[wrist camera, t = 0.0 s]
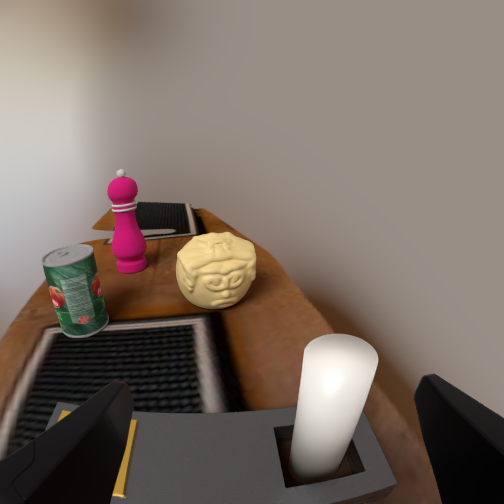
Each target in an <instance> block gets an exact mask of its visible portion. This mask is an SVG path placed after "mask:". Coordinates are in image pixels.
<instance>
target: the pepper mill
mask: <svg viewBox="0 0 504 504" xmlns="http://www.w3.org/2000/svg"><path fill="white" fill-rule="evenodd" d="M125 174H126V173H125V171H124V170H123V169H120V170H118V171H117V177H118V178H116V179H114V180H113V181H112V182H111V183H110V184H109V186H108V191H107V192H108V197H109V199H110V200H111V201H112V202H113V204H112V205H111V206H112V211H113V212H114V214H115V222H116V225H115V232H114V236H113V240H112V253H113V255H114V256H115V257H116V258H118V260H117V268H118V271H119V272H121V273H127V274H128V273H136V272H139V271H142V270H143V269H145V268H146V266H147V263H146V257H145V256H143V254H144V253H145V251H146V248H147V246H146V241H145V238H144V236H143V234H142V233H141V231H140V229H139V227H138V225H137V222H136V218H135V209H136V207H137V206H136V201H134V198H135V197H136V195H137V192H138V189H137V184H136V182H135V181H134V180H133V179H131V178H128V177H125Z"/></svg>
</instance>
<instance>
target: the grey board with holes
mask: <svg viewBox="0 0 504 504" xmlns="http://www.w3.org/2000/svg"><path fill="white" fill-rule="evenodd" d="M79 406H80V405H73V404H67V403H61V402H58V403H57V405H56V408H55V410H54V412H53V414H52V416H51V419H50V421H49V423H48V425H47V428H46V430H47V429H49V428H50V427H51V426H53V425H54V424H56V423H57V422H58V421H60V420H61V419H62V418H64V417H65V416H67V415H68V414H69V413H71V412H72V411H73V410H75V409H76V408H77V407H79ZM296 411H297V407H290V408H281V409H272V410H261V411H248V412H232V413H201V414H180V413H150V412H134V411H133V413H132V419H131V424H130V429H129V435H128V441H127V446H126V450H125V453H124V457H123V460H122V463H121V467H120V470H119V474H118V477H117V481H116V484H115V488H114V491H113V495H112V499H111V502H110V504H364V503H367V502H370V501H373V500H376V499H379V498H382V497H385V496H387V495H388V494H389V493H390V492H391V490H392V489H393V488H394V487H395V486H396V485H397V481H396V479H395V477H394V475H393V473H392V470H391V468H390V466H389V464H388V462H387V460H386V457H385V455H384V453H383V451H382V449H381V447H380V445H379V443H378V440H377V438H376V436H375V434H374V432H373V430H372V428H371V426H370V424H369V422H368V420H367V418H366V415H365V413H364V411H363V410H362V413H361V415H360V418H359V421H358V423H357V426H356V428H355V431H354V433H353V436H352V438H351V441H350V443H349V445H348V448H347V450H346V452H345V453H346V455H347V458H348V461H349V463H350V466H351V469H352V471H353V474H354V475H350V476H346V477H342V478H338V479H334V480H329V481H324V482H319V483H314V484H309V485H303V486H297V487H290V488H285V484H284V479H283V474H282V469H281V464H280V459H279V454H278V449H277V444H276V442H283V441H290V440H292V437H293V431H294V425H295V418H296ZM46 430H45V431H46Z"/></svg>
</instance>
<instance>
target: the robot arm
mask: <svg viewBox="0 0 504 504" xmlns="http://www.w3.org/2000/svg"><path fill="white" fill-rule="evenodd" d="M414 401H415V405H416V409H417V413H418V417H419V422H420V427H421V431H422V436H423V440H424V443H425V446H426V449H427V452H428V455H429V459H430V462H431V465H432V468H433V472H434V475H435V479H436V482H437V486H438V489H439V493H440V497H441V501H442V504H504V418H503V417H501V416H500V415H498V414H497V413H495V412H493V411H492V410H490V409H489V408H487V407H485V406H484V405H483V404H481V403H479V402H478V401H476V400H475V399H473V398H472V397H470V396H469V395H467V394H465V393H464V392H462V391H461V390H459V389H458V388H456V387H454V386H453V385H451V384H450V383H448V382H447V381H445V380H444V379H442V378H440V377H439V376H437V375H436V374H429V375H424V376H423V377H422V378H421V380H420V382H419V385H418V387H417V389H416V391H415V395H414ZM133 408H134V401H133V398H132V395H131V393H130V390H129V387H128V385H127V384H126V383H125V382H120V381H113V382H111V383H110V384H108V385H107V386H106V387H104V388H103V389H102V390H100V391H99V392H98V393H96V394H95V395H94V396H92V397H91V398H90V399H88V400H87V401H86V402H84V403H83V404H82V405H80V406H79V407H77V408H76V409H75V410H73V411H72V412H71V413H69V414H68V415H67V416H65V417H64V418H62V419H61V420H60V421H58V422H57V423H56V424H54V425H53V426H51V427H50V428H49V429H47V430H46V431H45V432H43V433H42V434H40V435H39V436H38V437H36V438H35V440H32V441H30V442H29V443H28V444H26V445H25V446H23V447H22V448H20V449H19V450H17V451H16V452H14V453H13V454H11V455H9V456H7V457H6V458H4V459H2V460H0V504H110V502H111V499H112V495H113V491H114V488H115V484H116V481H117V477H118V474H119V470H120V467H121V463H122V460H123V457H124V453H125V450H126V446H127V441H128V435H129V429H130V424H131V419H132V413H133Z"/></svg>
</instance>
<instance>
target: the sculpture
mask: <svg viewBox="0 0 504 504" xmlns="http://www.w3.org/2000/svg"><path fill="white" fill-rule="evenodd" d="M177 257H178V259H177V264H176V276H177V281H178V285H179V287H180V289H181V291H182V293H183V295H184V296H185V297H186V298H187V299H188V300H189V301H190V302H191V303H192V304H194V305H196V306H198V307H201V308H205V309H222V308H226V307H230V306H232V305H234V304H235V303H237V302H238V301H240V300H241V299H242V298H243V297H244V295H245V294H246V292H247V291H248V289H249V287H250V285H251V282H252V281H253V280H254V279H255V277H256V275H255V274H256V270H255V266H256V254H255V249H254V246H253V244H252V243H251V242H249V241H246V240H243V239H241V238H239V237H235V236H234V235H232V234H231V233H230V232H225V233H210V234H204V235H200V236H194V237H193V238H192V240H191V241H189V242H188V243H187V244H186V245H185V246H184V247H183V248H182V249H181V250H180V251H179V252H178V254H177Z"/></svg>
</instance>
